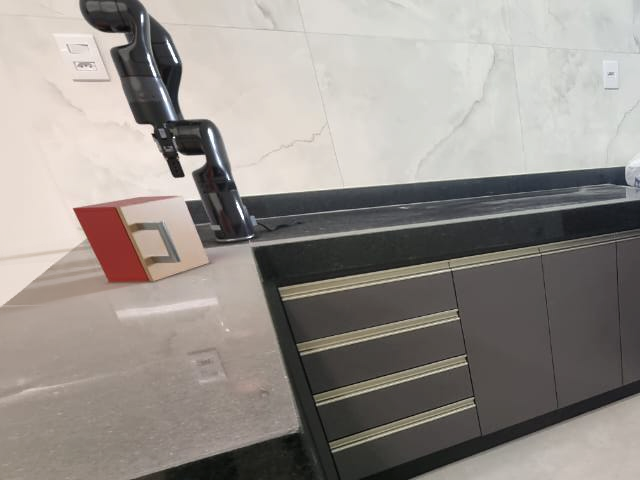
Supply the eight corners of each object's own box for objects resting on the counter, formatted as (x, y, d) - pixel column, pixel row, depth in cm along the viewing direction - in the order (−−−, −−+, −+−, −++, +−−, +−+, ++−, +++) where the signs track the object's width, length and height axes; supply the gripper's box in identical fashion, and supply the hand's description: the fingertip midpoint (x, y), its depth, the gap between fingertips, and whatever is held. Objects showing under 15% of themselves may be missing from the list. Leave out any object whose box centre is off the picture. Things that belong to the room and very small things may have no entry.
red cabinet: (205, 263, 133) (177, 195, 126) (148, 281, 119) (114, 206, 112) (169, 264, 134) (139, 196, 127) (109, 282, 120) (72, 208, 113)
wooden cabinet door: (230, 262, 133) (205, 195, 126) (177, 280, 119) (144, 206, 112) (206, 262, 133) (179, 196, 126) (149, 281, 119) (115, 207, 112)
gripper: (171, 98, 115) (200, 176, 121) (170, 102, 125) (197, 174, 132) (126, 98, 110) (158, 180, 117) (128, 102, 121) (158, 177, 127)
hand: (179, 177), depth 124 cm, fingers open, 8 cm apart
